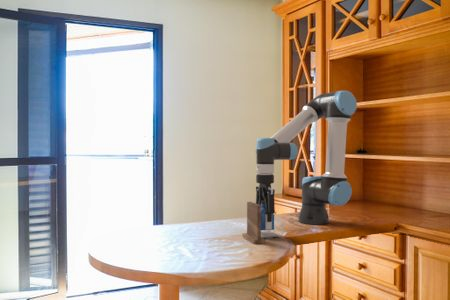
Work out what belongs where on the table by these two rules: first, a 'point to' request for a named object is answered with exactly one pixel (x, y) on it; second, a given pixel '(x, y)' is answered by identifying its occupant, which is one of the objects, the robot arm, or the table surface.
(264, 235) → the slate tile
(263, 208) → the perfume bottle
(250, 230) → the walnut screen
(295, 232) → the table surface
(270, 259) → the table surface
